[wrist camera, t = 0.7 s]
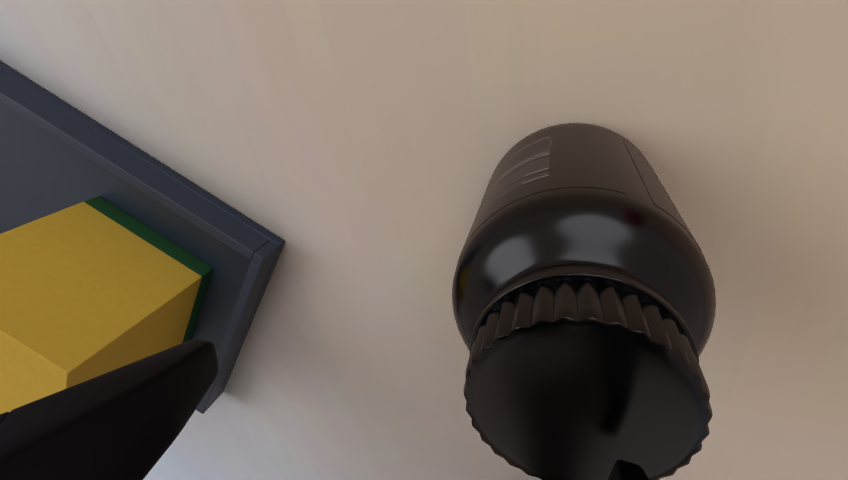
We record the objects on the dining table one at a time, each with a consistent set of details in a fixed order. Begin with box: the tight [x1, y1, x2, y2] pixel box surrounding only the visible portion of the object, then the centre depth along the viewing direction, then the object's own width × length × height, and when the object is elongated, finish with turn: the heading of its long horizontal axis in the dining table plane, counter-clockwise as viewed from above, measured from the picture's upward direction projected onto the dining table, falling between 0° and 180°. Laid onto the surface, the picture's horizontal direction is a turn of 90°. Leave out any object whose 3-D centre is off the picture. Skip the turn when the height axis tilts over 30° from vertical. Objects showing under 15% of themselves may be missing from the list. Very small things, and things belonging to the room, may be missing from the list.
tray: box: [0, 61, 285, 414], centre depth 28 cm, size 25×15×2 cm, turn 61°
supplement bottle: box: [452, 123, 716, 480], centre depth 14 cm, size 7×7×12 cm
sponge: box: [0, 196, 213, 414], centre depth 24 cm, size 8×7×9 cm
